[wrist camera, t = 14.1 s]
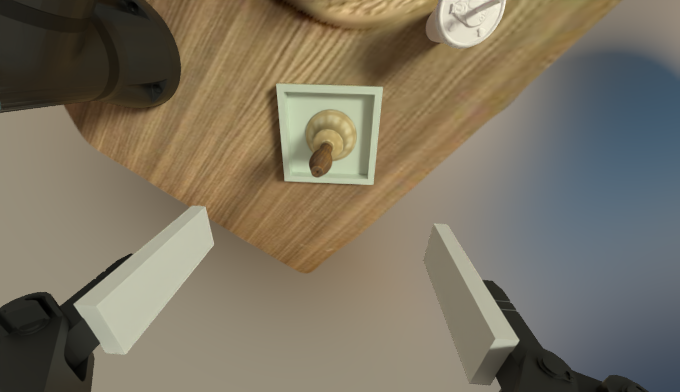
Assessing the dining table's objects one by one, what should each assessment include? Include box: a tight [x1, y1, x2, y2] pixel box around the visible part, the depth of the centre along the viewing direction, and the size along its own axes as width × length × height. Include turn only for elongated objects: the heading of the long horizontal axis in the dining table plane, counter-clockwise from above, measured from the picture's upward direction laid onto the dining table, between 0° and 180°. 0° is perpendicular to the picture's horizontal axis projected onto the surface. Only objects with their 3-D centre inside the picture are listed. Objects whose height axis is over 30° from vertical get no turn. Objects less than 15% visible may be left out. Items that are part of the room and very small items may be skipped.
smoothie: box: [426, 0, 506, 49], centre depth 26 cm, size 6×6×14 cm
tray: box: [276, 83, 383, 185], centre depth 38 cm, size 15×15×2 cm
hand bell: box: [306, 109, 357, 178], centre depth 32 cm, size 8×8×16 cm
